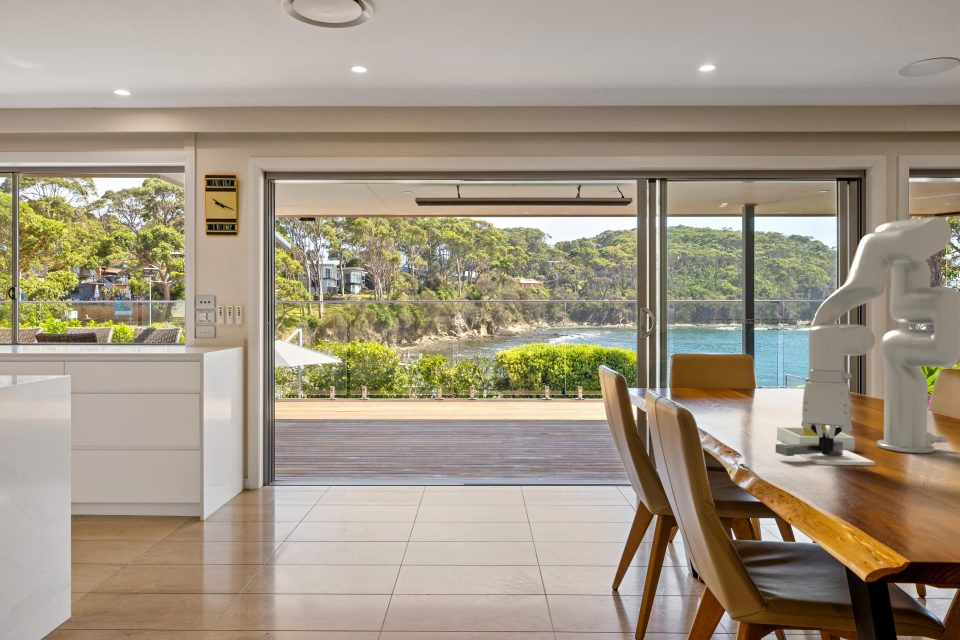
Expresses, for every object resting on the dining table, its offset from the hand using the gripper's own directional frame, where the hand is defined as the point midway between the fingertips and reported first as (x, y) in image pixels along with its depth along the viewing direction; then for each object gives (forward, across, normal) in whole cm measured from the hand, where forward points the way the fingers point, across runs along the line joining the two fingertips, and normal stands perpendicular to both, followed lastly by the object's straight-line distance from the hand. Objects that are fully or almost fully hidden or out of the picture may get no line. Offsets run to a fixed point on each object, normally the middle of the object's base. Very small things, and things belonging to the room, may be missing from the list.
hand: (826, 453), depth 152 cm
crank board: (+2, -1, -5) cm, 6 cm away
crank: (+1, +3, -1) cm, 4 cm away
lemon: (+2, +5, -20) cm, 21 cm away
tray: (+2, +5, -20) cm, 21 cm away
